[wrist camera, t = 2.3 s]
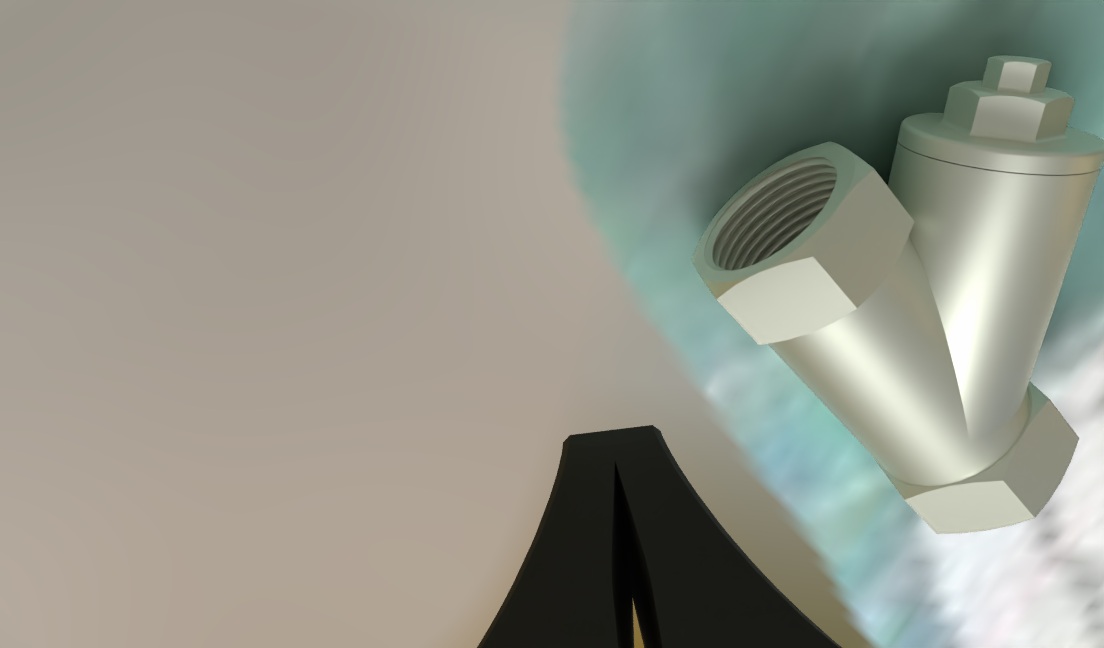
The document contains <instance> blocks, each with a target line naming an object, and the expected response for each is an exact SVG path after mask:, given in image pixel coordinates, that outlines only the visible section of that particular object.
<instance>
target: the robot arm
mask: <svg viewBox="0 0 1104 648" xmlns="http://www.w3.org/2000/svg"><path fill="white" fill-rule="evenodd" d="M632 597H633V599H632ZM633 601H634V605H635V610H636V614H637V618H638V623H639V627H640V631H641V635H642V639H643V644H644V648H842V647H841V646H839V645H838V644H837V643H835V642H834V641H833V640H832V639H831V638H830V637H829V636H827V635H826V634H825V633H824V632H823V631H822V630H821V629H820V628H819V627H818V626H816V625H815V624H814V623H813V622H812V621H811V620H810V619H809V618H808V617H807V616H805V615H804V614H803V613H802V612H801V611H800V610H799V609H798V608H797V607H796V606H795V605H794V604H793V603H792V602H791V601H789V599H788V598H787V597H786V596H785V595H783V593H781V592H780V591H779V590H778V589H777V588H776V587H775V586H774V585H773V583H772V582H771V581H770V580H769V579H768V578H767V577H766V576H765V575H764V574H763V573H762V572H761V571H760V570H759V569H758V568H757V567H756V565H755V564H754V563H753V562H752V561H751V560H750V559H749V558H748V556H747V555H746V554H745V553H744V552H743V551H742V550H741V548H740V547H739V546H738V545H737V544H736V543H735V542H734V541H733V539H732V538H731V537H730V536H729V534H728V533H727V532H726V531H725V529H724V528H723V527H722V526H721V525H720V523H719V522H718V521H717V519H716V518H715V517H714V515H713V514H712V513H711V511H710V510H709V509H708V507H707V506H706V505H705V503H704V502H703V501H702V499H701V498H700V497H699V496H698V494H697V493H696V491H695V490H694V488H693V487H692V485H691V484H690V483H689V481H688V480H687V478H686V476H685V475H684V474H683V472H682V470H681V469H680V468H679V466H678V464H677V462H676V461H675V459H674V457H673V456H672V454H671V452H670V450H669V448H668V447H667V445H666V443H665V441H664V439H663V436H662V434H661V431H660V430H658V429H657V428H656V427H654V426H653V425H649V426H641V427H634V428H625V429H617V430H609V431H601V432H593V433H584V434H576V435H570V436H569V437H568V438H567V439H566V440H565V441H564V442H563V449H562V456H561V460H560V464H559V468H558V472H557V476H556V479H555V482H554V485H553V489H552V492H551V495H550V498H549V501H548V503H547V506H546V509H545V512H544V514H543V517H542V519H541V522H540V525H539V527H538V530H537V533H536V535H535V537H534V540H533V542H532V545H531V547H530V549H529V551H528V553H527V555H526V557H525V560H524V562H523V564H522V566H521V568H520V570H519V572H518V575H517V577H516V579H515V581H514V583H513V585H512V587H511V589H510V591H509V593H508V595H507V597H506V598H505V600H504V602H503V604H502V606H501V608H500V610H499V611H498V613H497V615H496V617H495V618H494V620H493V622H492V624H491V626H490V627H489V629H488V631H487V632H486V634H485V636H484V638H483V639H482V641H481V642H480V644H479V646H478V647H477V648H634V629H633Z"/></svg>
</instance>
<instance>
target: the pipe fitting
mask: <svg viewBox="0 0 1104 648" xmlns="http://www.w3.org/2000/svg"><path fill="white" fill-rule="evenodd" d="M1051 66H1052V64H1051V63H1050V62H1049V61H1047V60H1043V59H1038V58H1031V57H1022V56H1004V55H1001V56H993V57H991V58H989V59H988V62H987V66H986V69H985V73H984V77H983V81H965V82H961V83H958V84H956V85H954V86H952V87H950V90H949V94H948V98H947V102H946V106H945V110H944V113H922V114H916V115H912V116H909V117H907V118H905V119H904V120H903V121H902V123H901V127H900V132H899V136H898V142H897V147H896V151H895V155H894V160H893V164H892V169H891V173H890V178H889V182H888V186H887V185H886V184H885V182H884V181H883V180H882V178H881V177H880V176H879V174H878V173H877V172H876V170H875V169H874V168H873V167H871V166H870V165H869V164H867V163H866V162H865V161H864V160H862V159H861V158H860V157H858V156H857V155H855V154H854V153H853V152H851V151H850V150H848V149H847V148H845V147H843V146H841V145H839V144H837V143H834V142H831V141H829V142H826V143H822V144H819V145H815V146H812V147H809V148H806V149H804V150H801V151H799V152H796V153H794V154H792V155H789V156H787V157H785V158H784V159H782V160H780V161H778V162H776V163H775V164H773V165H771V166H770V167H768V168H767V169H765V170H764V171H762V172H761V173H759V174H758V175H757V176H755V177H754V178H753V179H751V180H750V181H749V182H748V183H747V184H745V185H744V186H743V187H742V188H741V189H740V190H739V191H737V192H736V193H735V194H734V195H733V196H732V197H731V198H730V199H729V200H728V201H727V202H726V203H725V205H724V206H723V207H722V208H721V209H720V210H719V212H718V213H717V214H716V215H715V217H714V218H713V219H712V221H711V222H710V224H709V225H708V227H707V228H706V230H705V232H704V234H703V235H702V237H701V239H700V241H699V243H698V245H697V247H696V250H695V252H694V254H693V257H692V262H693V264H694V266H695V268H696V270H697V272H698V273H699V275H700V276H701V278H702V280H703V281H704V283H705V284H706V286H707V287H708V288H709V290H710V291H711V293H712V294H713V296H714V297H715V298H716V300H717V301H718V302H719V303H720V304H721V305H722V306H723V307H724V308H725V309H726V310H727V311H728V312H729V313H730V315H731V316H732V317H733V318H734V319H735V320H736V321H737V322H738V323H739V324H740V325H741V326H742V327H743V328H744V329H745V331H746V332H747V333H748V334H749V335H750V336H751V337H752V338H753V339H754V340H755V341H756V342H757V343H758V344H759V345H763V344H768V345H769V346H770V347H771V348H772V349H773V350H774V351H775V352H776V353H777V354H778V355H779V356H780V358H781V359H782V360H783V361H784V362H785V363H786V364H787V365H788V366H789V367H790V368H791V369H792V370H793V372H794V373H795V374H796V375H797V376H798V377H799V378H800V379H801V380H802V381H803V382H804V383H805V384H806V385H807V387H808V388H809V389H810V390H811V391H812V392H813V393H814V394H815V395H816V396H817V397H818V398H819V399H820V400H821V402H822V403H823V404H824V405H825V406H826V407H827V408H828V409H829V410H830V411H831V412H832V413H833V414H834V415H835V417H836V418H837V419H838V420H839V421H840V422H841V423H842V424H843V425H844V426H845V427H846V428H847V429H848V430H849V431H850V433H851V434H852V435H853V436H854V437H855V438H856V439H857V440H858V441H859V442H860V443H861V444H862V445H863V446H864V447H865V449H866V450H867V451H868V452H869V453H870V454H871V455H872V456H873V458H874V459H875V461H876V462H877V463H878V465H879V466H880V468H881V469H882V470H883V472H884V473H885V474H886V476H887V477H888V478H889V480H890V481H891V482H892V484H893V485H894V486H895V488H896V489H897V490H898V492H899V493H900V494H901V496H902V497H903V498H904V499H905V501H906V502H907V503H908V504H909V505H910V506H911V507H912V508H913V509H914V510H915V511H916V512H917V513H918V514H919V515H920V517H921V518H922V519H923V520H924V521H925V522H926V523H927V524H928V525H929V526H930V527H931V528H932V529H933V530H934V531H935V532H936V534H950V533H968V532H977V531H986V530H991V529H996V528H1001V527H1006V526H1010V525H1014V524H1017V523H1021V522H1024V521H1027V520H1030V519H1033V518H1035V517H1036V516H1037V515H1038V514H1039V512H1040V511H1041V510H1042V509H1043V507H1044V506H1045V505H1046V504H1047V502H1048V501H1049V500H1050V498H1051V496H1052V495H1053V493H1054V492H1055V490H1056V489H1057V487H1058V485H1059V484H1060V482H1061V480H1062V478H1063V476H1064V474H1065V472H1066V470H1067V468H1068V466H1069V464H1070V462H1071V459H1072V456H1073V454H1074V451H1075V448H1076V446H1077V443H1078V440H1079V437H1078V436H1077V435H1076V433H1075V432H1074V431H1073V429H1072V428H1071V427H1070V425H1069V424H1068V423H1067V421H1066V420H1065V419H1064V417H1063V416H1062V415H1061V414H1060V412H1059V411H1058V410H1057V408H1056V407H1055V406H1054V404H1053V403H1052V402H1051V400H1050V399H1049V398H1048V397H1047V396H1045V395H1044V394H1043V393H1042V392H1041V391H1040V390H1039V389H1038V388H1037V387H1036V386H1034V385H1033V384H1032V383H1031V382H1030V378H1031V375H1032V372H1033V369H1034V366H1035V363H1036V360H1037V357H1038V354H1039V351H1040V348H1041V345H1042V342H1043V339H1044V337H1045V334H1046V331H1047V328H1048V325H1049V322H1050V319H1051V316H1052V313H1053V310H1054V307H1055V304H1056V301H1057V298H1058V295H1059V292H1060V289H1061V286H1062V283H1063V280H1064V277H1065V274H1066V271H1067V268H1068V265H1069V262H1070V259H1071V256H1072V253H1073V250H1074V247H1075V244H1076V241H1077V238H1078V235H1079V232H1080V229H1081V226H1082V223H1083V220H1084V217H1085V214H1086V211H1087V208H1088V205H1089V202H1090V199H1091V196H1092V193H1093V190H1094V187H1095V183H1096V180H1097V177H1098V174H1099V171H1100V168H1101V167H1102V164H1103V161H1104V141H1103V140H1102V139H1100V138H1099V137H1097V136H1095V135H1092V134H1090V133H1087V132H1084V131H1081V130H1078V129H1074V128H1071V127H1067V124H1068V121H1069V118H1070V114H1071V111H1072V108H1073V105H1074V101H1075V99H1074V98H1072V97H1071V96H1070V95H1068V94H1067V93H1065V92H1063V91H1060V90H1057V89H1053V88H1048V87H1045V86H1046V83H1047V80H1048V76H1049V73H1050V69H1051Z"/></svg>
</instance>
